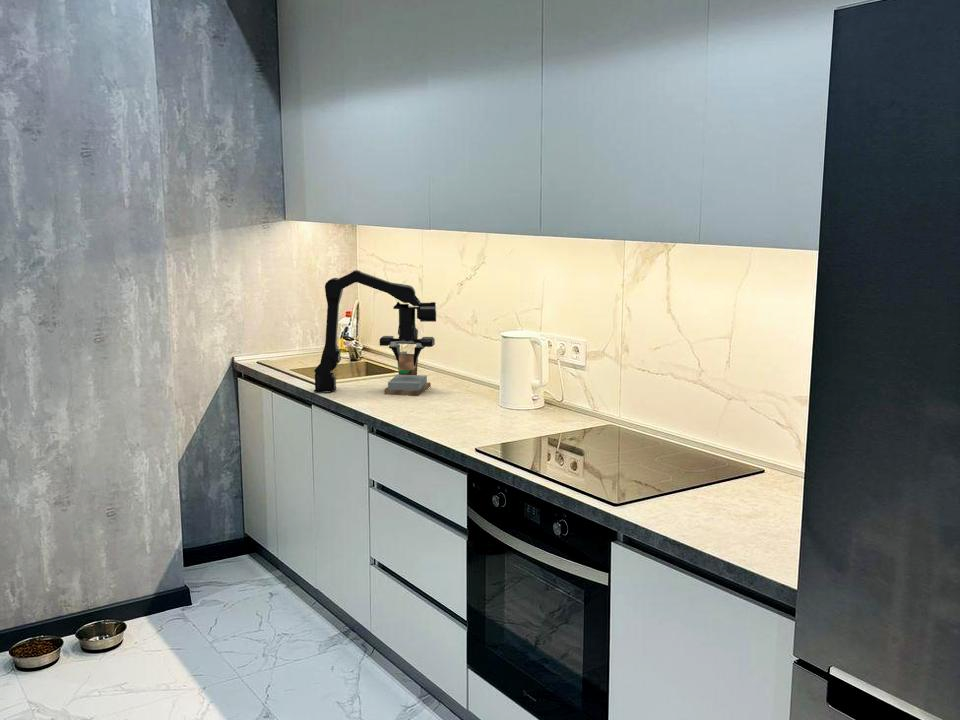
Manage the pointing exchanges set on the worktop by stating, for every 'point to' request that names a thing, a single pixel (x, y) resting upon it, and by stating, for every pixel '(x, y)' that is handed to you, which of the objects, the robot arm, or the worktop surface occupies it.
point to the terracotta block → (406, 362)
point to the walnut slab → (407, 391)
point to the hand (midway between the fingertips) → (407, 365)
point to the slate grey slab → (407, 382)
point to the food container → (407, 372)
